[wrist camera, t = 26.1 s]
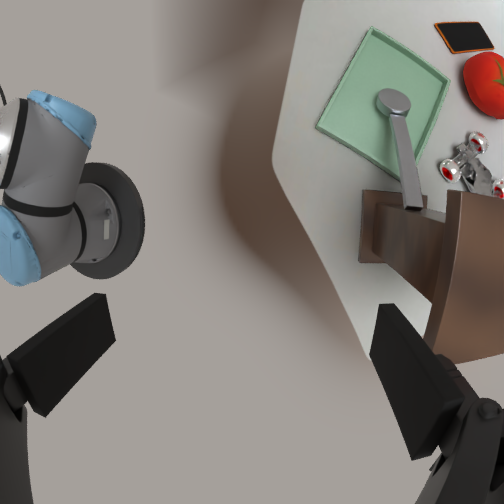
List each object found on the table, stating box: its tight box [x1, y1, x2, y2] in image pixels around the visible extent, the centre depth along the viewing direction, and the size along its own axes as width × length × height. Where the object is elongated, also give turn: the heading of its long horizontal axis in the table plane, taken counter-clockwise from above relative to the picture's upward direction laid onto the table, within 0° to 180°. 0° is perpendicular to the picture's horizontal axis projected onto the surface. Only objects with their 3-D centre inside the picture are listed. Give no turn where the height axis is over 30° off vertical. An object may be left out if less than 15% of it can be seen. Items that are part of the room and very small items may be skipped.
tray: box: [315, 26, 451, 182], centre depth 37 cm, size 23×17×2 cm
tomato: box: [463, 52, 504, 119], centre depth 29 cm, size 14×13×10 cm
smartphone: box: [435, 22, 494, 54], centre depth 31 cm, size 8×17×1 cm, turn 115°
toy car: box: [440, 131, 504, 199], centre depth 37 cm, size 15×12×5 cm
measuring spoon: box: [376, 88, 423, 211], centre depth 34 cm, size 22×6×2 cm
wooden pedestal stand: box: [358, 190, 504, 364], centre depth 30 cm, size 14×14×29 cm
